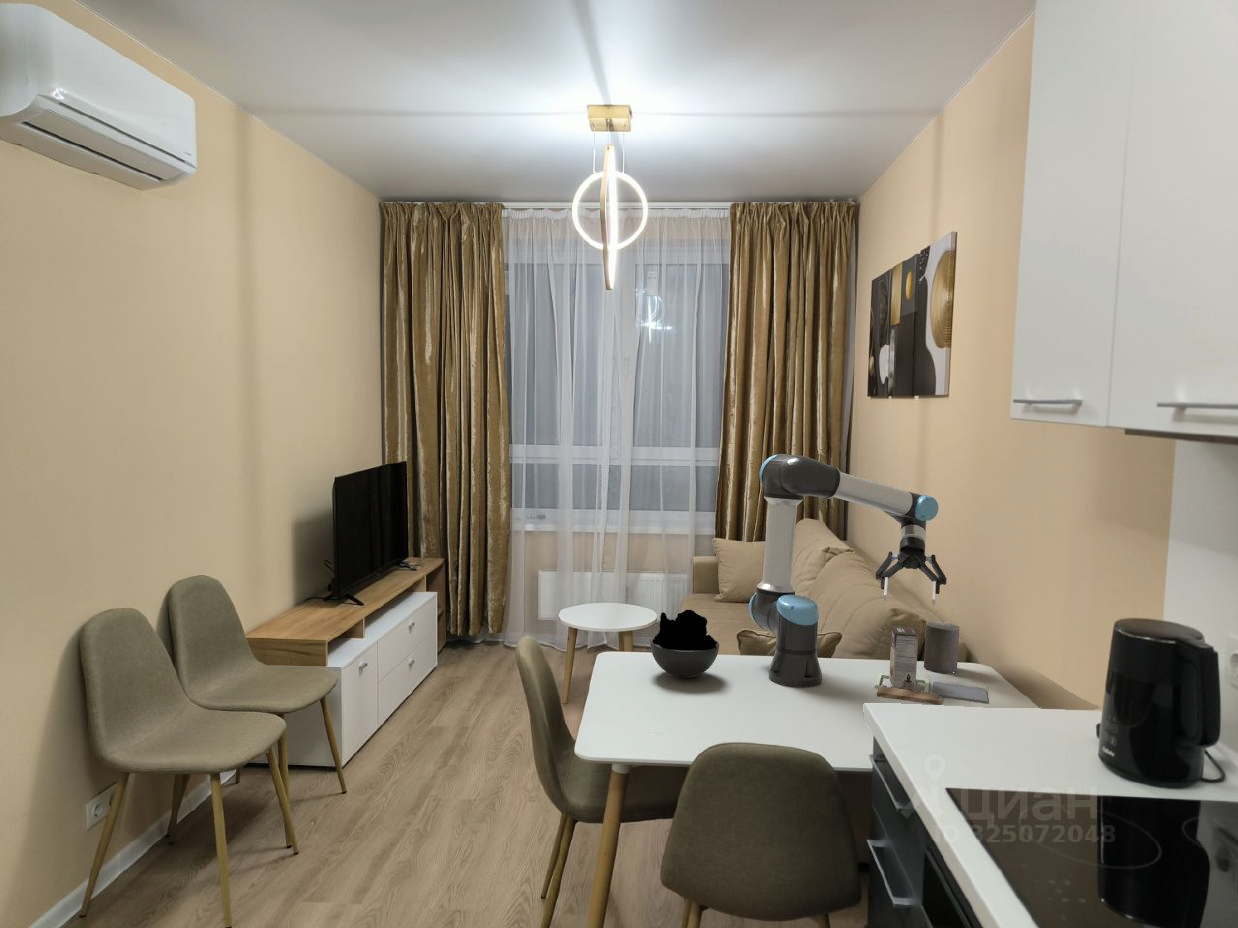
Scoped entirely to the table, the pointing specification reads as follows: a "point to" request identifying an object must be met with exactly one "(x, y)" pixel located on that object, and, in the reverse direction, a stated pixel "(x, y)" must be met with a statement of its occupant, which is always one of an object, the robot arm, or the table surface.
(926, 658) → the pillar candle
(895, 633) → the coffee box
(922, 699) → the walnut ticket board
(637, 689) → the table surface
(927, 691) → the sage stub frame
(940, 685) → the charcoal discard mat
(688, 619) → the coal bowl
